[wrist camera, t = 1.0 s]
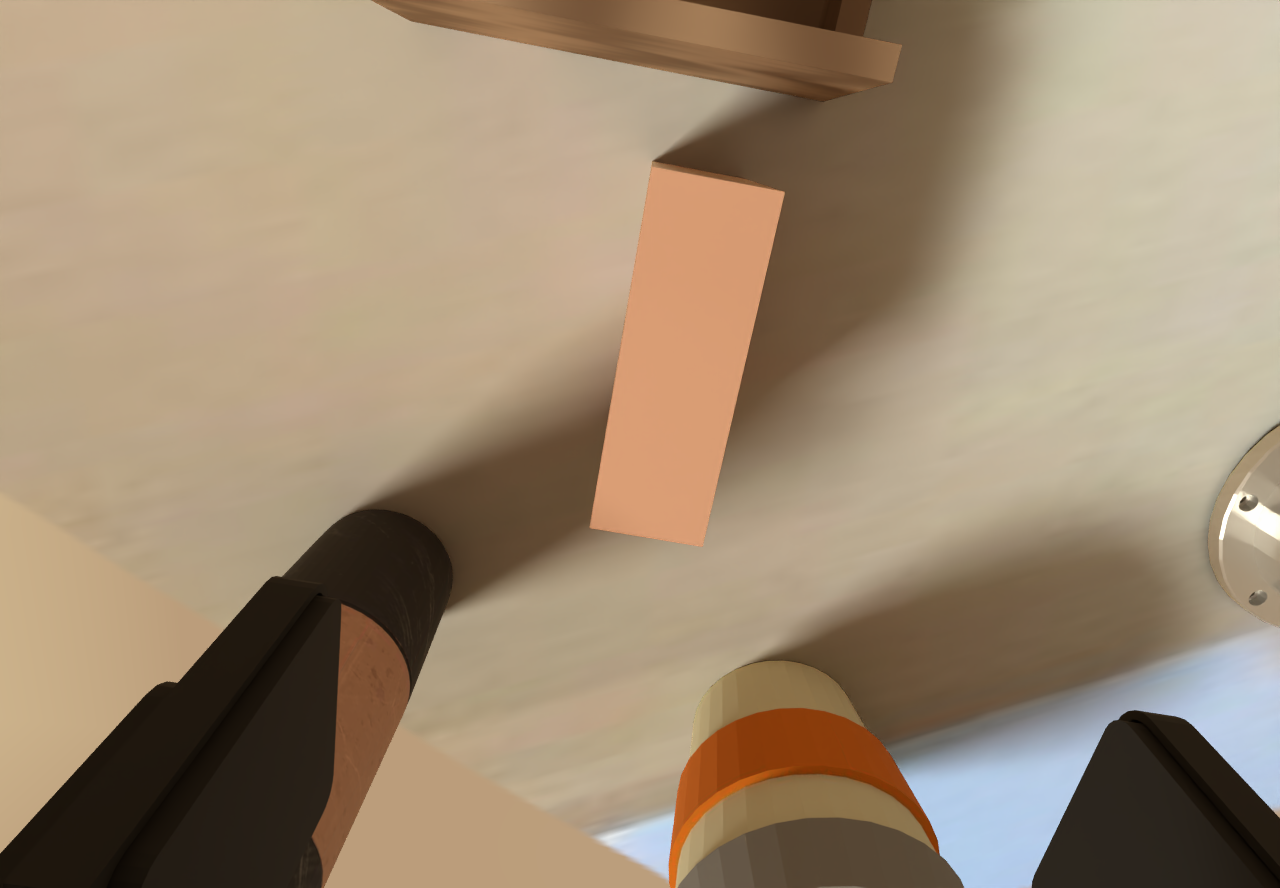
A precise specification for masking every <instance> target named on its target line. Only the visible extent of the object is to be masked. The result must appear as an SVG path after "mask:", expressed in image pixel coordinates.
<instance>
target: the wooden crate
mask: <svg viewBox="0 0 1280 888" xmlns="http://www.w3.org/2000/svg"><path fill="white" fill-rule="evenodd" d="M372 1H373V2H375V3H377V4H379V5H381V6H383V7H385V8H387V9H389V10H391V11H393V12H394V13H396V14H398V15H400V16H402V17H404V18H406V19H408V20H410V21H413V22H418V23H423V24H428V25H433V26H438V27H444V28H449V29H454V30H459V31H464V32H469V33H474V34H479V35H485V36H490V37H495V38H500V39H505V40H510V41H515V42H520V43H525V44H531V45H536V46H541V47H546V48H551V49H556V50H561V51H566V52H572V53H577V54H582V55H587V56H592V57H597V58H602V59H607V60H613V61H618V62H623V63H628V64H633V65H638V66H643V67H648V68H653V69H659V70H664V71H669V72H674V73H679V74H684V75H689V76H694V77H700V78H705V79H710V80H715V81H720V82H725V83H730V84H735V85H741V86H746V87H751V88H756V89H761V90H766V91H771V92H776V93H782V94H787V95H792V96H797V97H802V98H807V99H812V100H817V101H822V102H823V101H827V100H830V99H834V98H838V97H841V96H845V95H849V94H852V93H856V92H860V91H863V90H867V89H870V88H874V87H878V86H881V85H885V84H889V83H892V82H893V78H894V74H895V71H896V67H897V63H898V59H899V56H900V52H901V48H902V45H901V44H896V43H891V42H886V41H881V40H876V39H871V38H866V37H863V34H864V30H865V26H866V22H867V18H868V14H869V10H870V6H871V2H872V0H372Z"/></svg>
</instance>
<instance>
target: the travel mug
mask: <svg viewBox="0 0 1280 888" xmlns="http://www.w3.org/2000/svg"><path fill="white" fill-rule="evenodd" d="M282 577H285V578H291V579H298V580H304V581H311V582H317V583H323V584H324V585H325V586H326V589H327V594H328V597H330V598H337V599H339V600H340V602H341V632H340V653H339V674H338V695H337V716H336V737H335V758H334V776H333V784H332V789H331V793H330V796H329V799H328V802H327V805H326V808H325V810H324V812H323V815H322V817H321V819H320V821H319V823H318V825H317V827H316V829H315V831H314V833H313V835H312V837H311V839H310V841H309V843H308V845H307V847H306V849H305V851H304V854H303V856H302V858H301V860H300V862H299V864H298V866H297V868H296V870H295V872H294V874H293V876H292V878H291V880H290V882H289V884H288V886H287V888H324V886H325V883H326V882H327V879H328V877H329V875H330V873H331V871H332V868H333V866H334V864H335V862H336V860H337V858H338V855H339V853H340V851H341V849H342V847H343V845H344V842H345V840H346V838H347V835H348V834H349V831H350V829H351V827H352V825H353V823H354V821H355V818H356V816H357V814H358V812H359V809H360V807H361V805H362V803H363V801H364V799H365V797H366V794H367V792H368V790H369V787H370V786H371V783H372V781H373V779H374V777H375V775H376V772H377V770H378V768H379V766H380V764H381V761H382V759H383V757H384V755H385V753H386V751H387V748H388V746H389V744H390V742H391V740H392V737H393V735H394V733H395V731H396V729H397V727H398V725H399V722H400V720H401V718H402V716H403V713H404V711H405V709H406V706H407V704H408V702H409V699H410V697H411V694H412V692H413V689H414V686H415V684H416V681H417V679H418V676H419V674H420V671H421V669H422V666H423V663H424V661H425V658H426V656H427V653H428V651H429V648H430V646H431V643H432V641H433V638H434V635H435V633H436V630H437V628H438V625H439V623H440V620H441V618H442V615H443V612H444V610H445V607H446V604H447V602H448V599H449V596H450V592H451V588H452V567H451V563H450V559H449V557H448V554H447V552H446V550H445V548H444V546H443V545H442V544H441V542H440V541H439V539H438V538H437V537H436V536H435V535H434V534H433V533H432V532H431V531H430V530H429V529H428V528H427V527H425V526H424V525H422V524H421V523H419V522H418V521H416V520H414V519H412V518H410V517H408V516H405V515H403V514H400V513H396V512H392V511H386V510H367V511H362V512H357V513H354V514H351V515H349V516H346V517H344V518H342V519H341V520H339V521H338V522H336V523H335V524H333V525H332V526H331V527H330V528H329V529H328V530H327V531H326V532H325V533H324V534H323V535H322V536H321V537H320V538H319V539H318V540H317V541H316V542H315V543H314V544H313V545H312V546H311V547H310V548H309V549H308V550H307V551H306V552H305V553H304V554H303V555H302V556H301V558H300V559H299V560H298V561H297V562H296V563H295V564H294V565H293V566H292V567H291V568H290V569H289V570H288V571H287V572H286V573H285V574H284V575H283V576H282Z"/></svg>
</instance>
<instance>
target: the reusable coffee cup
mask: <svg viewBox="0 0 1280 888" xmlns="http://www.w3.org/2000/svg"><path fill="white" fill-rule="evenodd" d="M669 884H670V887H671V888H964V886H963V884H962V882H961V879H960V878H959V877H958V875H957V874H956V873H955V872H954V870H953V869H952V868H951V866H950V865H949V864H948V863H947V861H946V860H945V859H944V858H942V857H941V856H940V853H939V846H938V840H937V837H936V835H935V833H934V831H933V828H932V826H931V824H930V821H929V820H928V818H927V816H926V814H925V813H924V811H923V809H922V808H921V806H920V804H919V803H918V801H917V799H916V797H915V796H914V794H913V792H912V791H911V789H910V787H909V786H908V784H907V782H906V780H905V779H904V777H903V775H902V774H901V772H900V770H899V769H898V767H897V765H896V763H895V762H894V760H893V758H892V757H891V755H890V754H889V752H888V751H887V750H886V748H885V747H884V746H883V744H882V743H881V742H880V741H879V740H878V739H877V738H876V737H875V736H874V735H872V734H871V733H870V732H869V731H868V730H866V728H865V726H864V725H863V723H862V721H861V719H860V718H859V716H858V714H857V712H856V711H855V709H854V707H853V705H852V704H851V702H850V700H849V698H848V697H847V695H846V694H845V692H844V691H843V690H842V688H841V687H840V686H839V684H838V683H836V682H835V681H834V680H833V679H832V678H830V677H829V676H828V675H827V674H825V673H823V672H821V671H819V670H817V669H816V668H814V667H811V666H808V665H804V664H801V663H797V662H790V661H783V660H782V661H764V662H758V663H753V664H749V665H746V666H744V667H741V668H738V669H736V670H734V671H732V672H730V673H729V674H727V675H725V676H724V677H722V678H721V679H720V680H718V681H717V682H716V683H715V684H714V685H713V686H711V687H710V689H709V690H708V691H707V693H706V694H705V695H704V696H703V698H702V700H701V702H700V704H699V706H698V708H697V710H696V714H695V718H694V723H693V732H692V741H691V750H690V759H689V760H688V763H687V765H686V767H685V769H684V771H683V773H682V775H681V779H680V783H679V788H678V793H677V801H676V809H675V817H674V825H673V833H672V841H671V849H670V858H669Z"/></svg>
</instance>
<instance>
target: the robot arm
mask: <svg viewBox="0 0 1280 888" xmlns="http://www.w3.org/2000/svg"><path fill="white" fill-rule="evenodd" d="M1208 550H1209V558H1210V563H1211V566H1212V569H1213V571H1214V574H1215V576H1216V579H1217V581H1218V582H1219V584H1220V585H1221V586H1222V588H1223V589H1224V590H1225V592H1226V593H1227V595H1228V596H1229V597H1231V598H1232V599H1233V600H1234V601H1235V602H1236V603H1238V604H1239V605H1240V606H1241V607H1242V608H1244V609H1245V610H1246V611H1247V612H1249V613H1250V614H1252V615H1254V616H1255V617H1257V618H1258V619H1260V620H1261V621H1263V622H1265V623H1268V624H1270V625H1273V626H1276V627H1278V628H1280V426H1278V427H1277V428H1276V429H1274V430H1273V431H1271V432H1270V433H1268V434H1267V435H1266V436H1265V437H1264V438H1263V439H1262V440H1260V441H1259V442H1258V443H1257V444H1256V445H1255V446H1254V447H1253V448H1252V449H1251V450H1250V451H1249V452H1248V453H1247V454H1246V455H1245V456H1244V457H1243V459H1242V460H1241V461H1240V462H1239V464H1238V465H1237V466H1236V468H1235V469H1234V470H1233V472H1232V473H1231V474H1230V475H1229V477H1228V479H1227V481H1226V483H1225V484H1224V486H1223V488H1222V490H1221V492H1220V494H1219V495H1218V497H1217V500H1216V503H1215V506H1214V509H1213V512H1212V515H1211V518H1210V523H1209V533H1208ZM340 632H341V602H340V600H339V599H337V598H330V597H328V594H327V589H326V586H325V585H324V584H323V583H317V582H311V581H304V580H298V579H291V578H285V577H279V576H275V577H271V578H270V579H269V580H268V581H267V582H266V583H265V584H264V585H263V586H262V587H261V588H260V590H259V591H258V592H257V593H256V594H255V595H254V596H253V598H252V599H251V600H250V601H249V602H248V603H247V604H246V606H245V607H244V608H243V609H242V610H241V611H240V612H239V614H238V615H237V616H236V617H235V618H234V619H233V620H232V622H231V623H230V624H229V625H228V626H227V627H226V628H225V630H224V631H223V632H222V633H221V634H220V635H219V636H218V638H217V639H216V640H215V641H214V642H213V643H212V644H211V646H210V647H209V648H208V649H207V650H206V651H205V652H204V654H203V655H202V656H201V657H200V658H199V659H198V660H197V662H196V663H195V664H194V665H193V666H192V667H191V668H190V669H189V671H188V672H187V673H186V674H185V675H184V676H183V678H182V679H181V680H180V681H179V682H178V683H174V682H164V683H161V684H159V685H157V686H155V687H154V688H153V689H152V690H151V691H150V692H149V693H147V694H146V695H145V696H144V697H143V698H142V700H141V701H140V702H139V703H138V704H137V705H136V706H135V707H134V708H133V709H132V710H131V712H130V713H129V714H128V715H127V716H126V717H125V718H124V719H123V720H122V721H121V722H120V723H119V725H118V726H117V727H116V728H115V729H114V730H113V731H112V732H111V734H110V735H109V736H108V737H107V738H106V739H105V740H104V741H103V742H102V743H101V744H100V745H99V746H98V748H97V749H96V750H95V751H94V752H93V753H92V754H91V755H90V756H89V757H88V759H87V760H86V761H85V762H84V763H83V764H82V765H81V766H80V767H79V768H78V769H77V770H76V772H75V773H74V774H73V775H72V776H71V777H70V778H69V779H68V780H67V782H66V783H65V784H64V785H63V786H62V787H61V788H60V789H59V790H58V791H57V792H56V793H55V795H54V796H53V797H52V798H51V799H50V800H49V801H48V802H47V803H46V804H45V805H44V807H43V808H42V809H41V810H40V811H39V812H38V813H37V814H36V815H35V816H34V817H33V819H32V820H31V821H30V822H29V823H28V824H27V825H26V826H25V827H24V828H23V829H22V831H21V832H20V833H19V834H18V835H17V836H16V837H15V838H14V839H13V840H12V842H11V843H10V844H9V845H8V846H7V847H6V848H5V849H4V850H3V851H2V852H1V853H0V888H287V886H288V884H289V882H290V880H291V878H292V876H293V874H294V872H295V870H296V868H297V866H298V864H299V862H300V860H301V858H302V856H303V854H304V851H305V849H306V847H307V845H308V843H309V841H310V839H311V837H312V835H313V833H314V831H315V829H316V827H317V825H318V823H319V821H320V819H321V817H322V815H323V812H324V810H325V808H326V805H327V802H328V799H329V796H330V793H331V789H332V784H333V776H334V758H335V737H336V716H337V695H338V674H339V653H340ZM1032 888H1280V818H1279V817H1278V816H1277V815H1276V814H1275V813H1274V812H1273V811H1272V809H1271V808H1270V807H1269V806H1268V805H1267V804H1266V803H1265V802H1264V801H1263V800H1262V799H1261V798H1260V797H1259V796H1258V795H1257V794H1256V792H1255V791H1254V790H1253V789H1252V788H1251V787H1250V786H1249V785H1248V784H1247V783H1246V782H1245V781H1244V780H1243V779H1242V778H1241V777H1240V775H1239V774H1238V773H1237V772H1236V771H1235V770H1234V769H1233V768H1232V767H1231V766H1230V765H1229V764H1228V763H1227V762H1226V761H1225V759H1224V758H1223V757H1222V756H1221V755H1220V754H1219V753H1218V752H1217V751H1216V750H1215V749H1214V748H1213V747H1212V746H1211V745H1210V744H1209V742H1208V741H1207V740H1206V739H1205V738H1204V737H1203V736H1202V735H1201V734H1200V733H1199V732H1198V731H1197V730H1196V729H1195V728H1194V727H1193V726H1192V725H1191V724H1190V723H1189V722H1187V721H1186V720H1185V719H1182V718H1179V717H1175V716H1168V715H1162V714H1156V713H1149V712H1143V711H1136V710H1134V711H1128V712H1126V713H1125V714H1123V715H1122V716H1121V717H1120V718H1119V720H1116V721H1113V722H1111V723H1110V724H1109V725H1108V726H1107V728H1106V729H1105V731H1104V733H1103V735H1102V737H1101V739H1100V741H1099V743H1098V745H1097V747H1096V749H1095V752H1094V754H1093V756H1092V758H1091V760H1090V762H1089V764H1088V766H1087V768H1086V770H1085V772H1084V774H1083V776H1082V778H1081V780H1080V782H1079V784H1078V786H1077V789H1076V791H1075V793H1074V795H1073V797H1072V799H1071V801H1070V803H1069V805H1068V807H1067V809H1066V811H1065V813H1064V815H1063V817H1062V819H1061V821H1060V823H1059V826H1058V828H1057V830H1056V832H1055V834H1054V836H1053V838H1052V840H1051V842H1050V844H1049V846H1048V848H1047V850H1046V852H1045V854H1044V856H1043V858H1042V860H1041V863H1040V865H1039V867H1038V869H1037V871H1036V873H1035V875H1034V878H1033V881H1032Z"/></svg>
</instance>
